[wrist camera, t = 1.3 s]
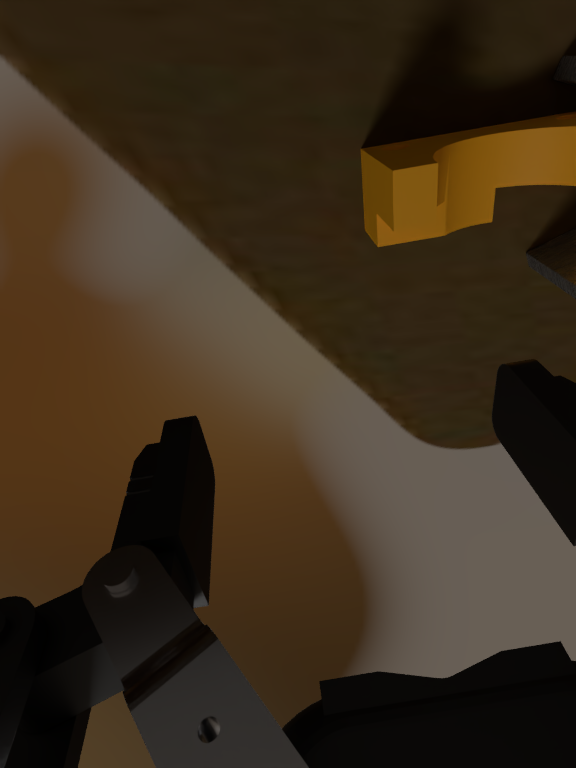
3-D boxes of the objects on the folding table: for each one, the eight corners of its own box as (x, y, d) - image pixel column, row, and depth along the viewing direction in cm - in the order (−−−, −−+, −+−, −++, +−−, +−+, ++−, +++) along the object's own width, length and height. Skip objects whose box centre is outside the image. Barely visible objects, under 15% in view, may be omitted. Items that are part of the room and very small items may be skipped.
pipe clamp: (364, 229, 28) (394, 268, 22) (360, 148, 25) (392, 170, 20) (568, 194, 28) (647, 225, 22) (583, 109, 25) (676, 121, 20)
